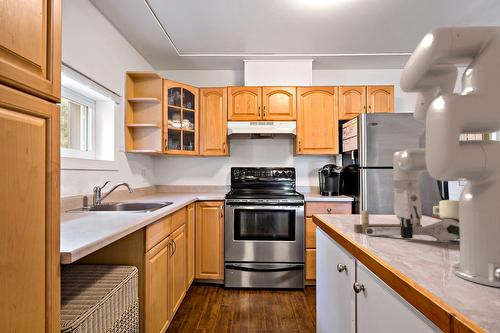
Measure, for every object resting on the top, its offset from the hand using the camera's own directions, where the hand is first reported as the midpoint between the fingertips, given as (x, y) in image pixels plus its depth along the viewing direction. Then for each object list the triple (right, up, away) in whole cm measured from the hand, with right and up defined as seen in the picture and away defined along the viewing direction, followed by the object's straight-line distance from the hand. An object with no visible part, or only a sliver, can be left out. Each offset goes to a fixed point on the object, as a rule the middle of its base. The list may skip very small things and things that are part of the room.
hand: (406, 237), depth 96 cm
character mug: (+15, 0, -2) cm, 15 cm away
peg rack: (0, -1, +13) cm, 13 cm away
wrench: (+2, -1, +1) cm, 2 cm away
